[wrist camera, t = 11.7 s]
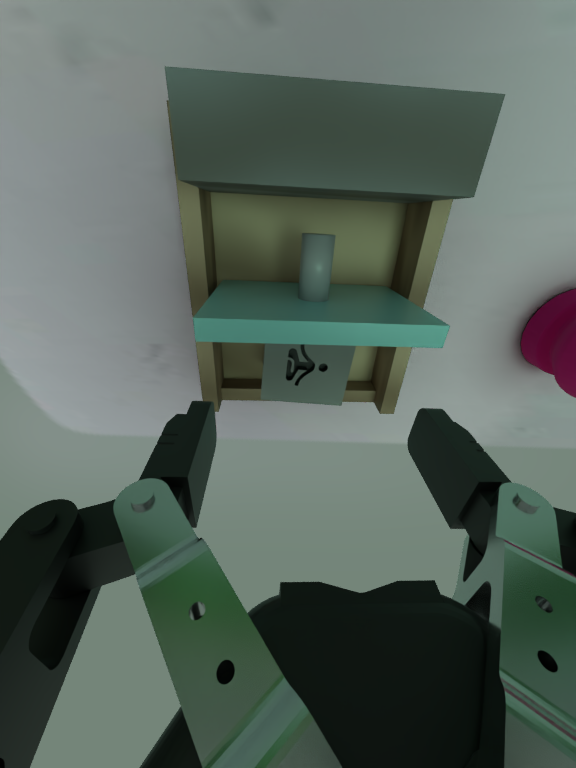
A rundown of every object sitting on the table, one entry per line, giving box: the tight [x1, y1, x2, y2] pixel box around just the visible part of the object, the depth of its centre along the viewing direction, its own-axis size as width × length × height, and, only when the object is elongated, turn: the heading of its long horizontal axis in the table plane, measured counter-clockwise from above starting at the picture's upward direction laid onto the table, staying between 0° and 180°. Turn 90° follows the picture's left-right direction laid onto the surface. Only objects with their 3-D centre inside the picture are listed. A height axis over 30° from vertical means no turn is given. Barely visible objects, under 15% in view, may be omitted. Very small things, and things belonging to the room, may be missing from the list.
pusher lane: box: [165, 67, 505, 414], centre depth 17 cm, size 16×14×7 cm
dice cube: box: [261, 343, 356, 406], centre depth 19 cm, size 5×5×5 cm
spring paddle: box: [193, 233, 450, 348], centre depth 15 cm, size 4×11×8 cm, turn 87°
